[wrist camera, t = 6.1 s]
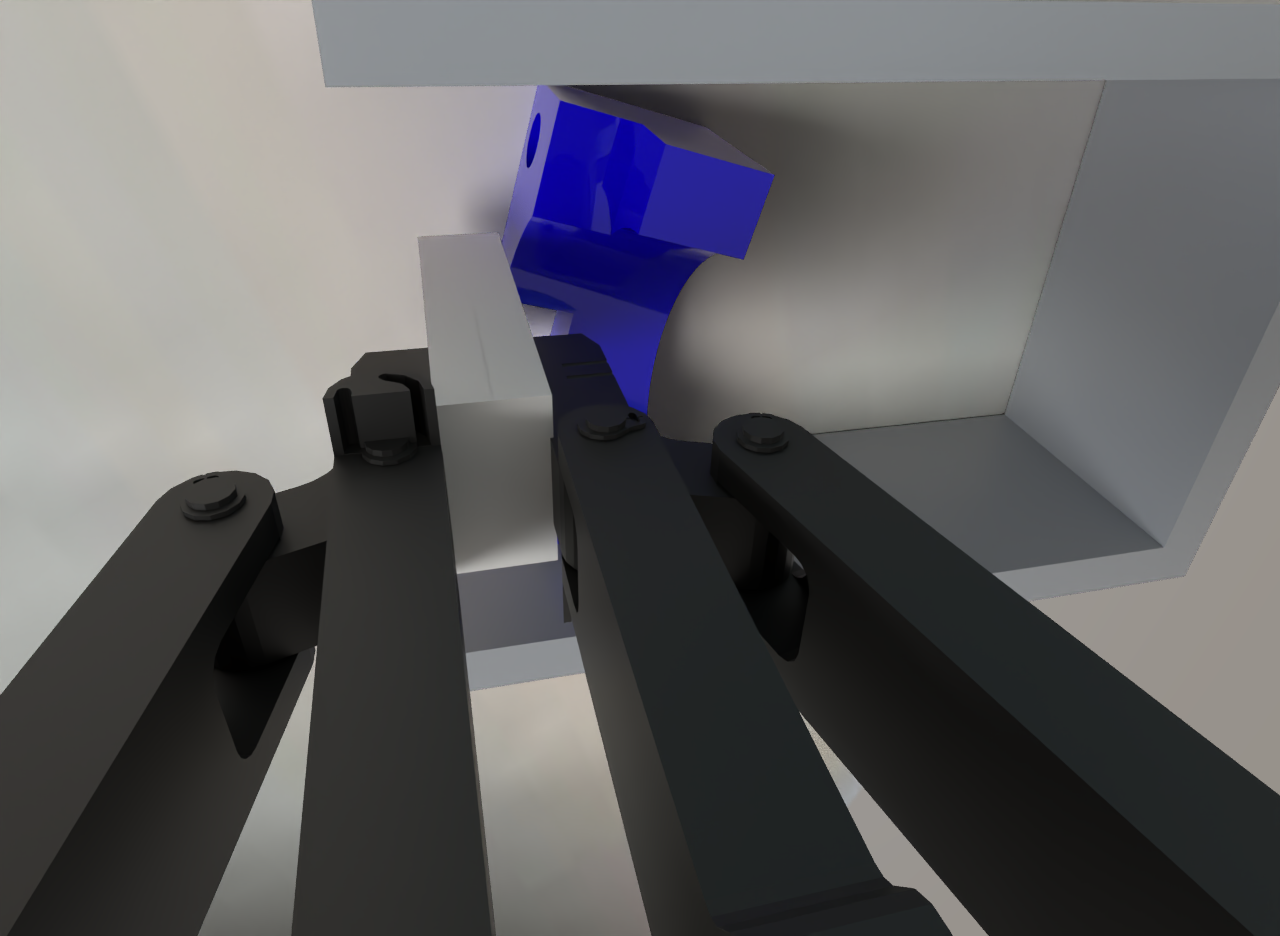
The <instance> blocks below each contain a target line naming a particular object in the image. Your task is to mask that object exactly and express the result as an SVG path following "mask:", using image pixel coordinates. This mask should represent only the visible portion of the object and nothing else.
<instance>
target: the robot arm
mask: <svg viewBox="0 0 1280 936" xmlns="http://www.w3.org/2000/svg"><path fill="white" fill-rule="evenodd" d="M418 243H419V254H420V265H421V276H422V287H423V298H424V309H425V320H426V331H427V342H428V348H419V349H407V350H394V351H382V352H369V353H365V354H364V355H363V356H362V358H361V359H360V360H359V361H358V362H357V363H356V364H355V365H354V366H353V367H352V368H351V376H350V377H347V378H344V379H341V380H340V381H338V382H337V383H335V384H334V385H333V386H331V387H330V388H328V390H327V392H326V393H325V395H324V397H323V403H324V408H325V413H326V417H327V422H328V427H329V432H330V437H331V442H332V447H333V452H334V466H333V469H332V470H331V471H329V472H328V473H327V474H325V475H323V476H322V477H320V478H318V479H316V480H314V481H312V482H309V483H307V484H304V485H301V486H298V487H295V488H292V489H289V490H285V491H282V492H278V493H275V492H274V489H273V487H272V486H271V484H270V482H269V480H267V479H265V478H263V477H261V476H259V475H257V474H256V473H249V472H242V471H226V472H212V473H207V474H206V475H200V476H197V477H194V478H191V479H189V480H187V481H185V482H183V483H181V484H179V485H177V486H175V487H173V488H171V489H170V490H169V491H168V492H166V493H165V494H164V495H163V496H162V497H161V498H159V499H158V500H157V501H156V502H155V504H154V505H153V506H152V507H151V509H150V510H149V511H148V512H147V513H146V515H145V516H144V517H143V518H142V520H141V521H140V522H139V523H138V525H137V526H136V527H135V528H134V530H133V531H132V532H131V533H130V535H129V536H128V537H127V538H126V540H125V541H124V542H123V543H122V545H121V546H120V547H119V548H118V550H117V551H116V552H115V553H114V555H113V556H112V557H111V558H110V560H109V561H108V562H107V563H106V564H105V566H104V567H103V568H102V569H101V571H100V572H99V573H98V574H97V576H96V577H95V578H94V579H93V581H92V582H91V583H90V584H89V586H88V587H87V588H86V589H85V591H84V592H83V593H82V594H81V596H80V597H79V598H78V599H77V601H76V602H75V603H74V604H73V606H72V607H71V608H70V609H69V611H68V612H67V613H66V614H65V615H64V617H63V618H62V619H61V620H60V622H59V623H58V624H57V625H56V627H55V628H54V629H53V630H52V632H51V633H50V634H49V635H48V637H47V638H46V639H45V640H44V642H43V643H42V644H41V645H40V647H39V648H38V649H37V650H36V652H35V653H34V654H33V655H32V657H31V658H30V659H29V660H28V661H27V663H26V664H25V665H24V666H23V668H22V669H21V670H20V671H19V673H18V674H17V675H16V676H15V678H14V679H13V680H12V681H11V683H10V684H9V685H8V686H7V688H6V689H5V690H4V691H3V693H2V694H1V695H0V936H197V935H198V933H199V931H200V928H201V926H202V924H203V921H204V919H205V917H206V914H207V912H208V909H209V907H210V905H211V902H212V900H213V898H214V895H215V893H216V891H217V888H218V886H219V884H220V881H221V879H222V877H223V874H224V872H225V869H226V867H227V865H228V862H229V860H230V858H231V855H232V853H233V851H234V848H235V846H236V844H237V841H238V839H239V837H240V834H241V832H242V830H243V827H244V825H245V822H246V820H247V818H248V815H249V813H250V811H251V808H252V806H253V804H254V801H255V799H256V797H257V794H258V792H259V790H260V787H261V785H262V783H263V780H264V778H265V775H266V773H267V771H268V768H269V766H270V764H271V761H272V759H273V757H274V754H275V752H276V750H277V747H278V745H279V743H280V740H281V738H282V735H283V733H284V731H285V728H286V726H287V724H288V721H289V719H290V717H291V714H292V712H293V710H294V707H295V705H296V703H297V700H298V698H299V696H300V693H301V691H302V688H303V686H304V684H305V681H306V679H307V677H308V674H309V672H310V670H311V667H312V665H313V661H314V655H315V647H314V646H317V656H316V667H315V678H314V689H313V700H312V711H311V722H310V734H309V745H308V756H307V767H306V778H305V789H304V800H303V812H302V823H301V834H300V845H299V856H298V867H297V878H296V889H295V901H294V912H293V923H292V934H291V936H496V932H495V922H494V913H493V904H492V894H491V885H490V876H489V866H488V857H487V848H486V838H485V829H484V820H483V810H482V801H481V792H480V783H479V773H478V764H477V755H476V745H475V736H474V727H473V717H472V708H471V699H470V689H469V680H468V671H467V661H466V652H465V643H464V633H463V624H462V615H461V605H460V596H459V588H458V580H457V574H460V573H467V572H474V571H482V570H489V569H497V568H504V567H511V566H519V565H526V564H533V563H541V562H548V561H555V560H558V548H557V538H558V542H559V546H560V550H561V553H562V583H563V614H564V623H567V622H573V626H574V630H575V634H576V638H577V642H578V646H579V650H580V654H581V658H582V662H583V666H584V670H585V674H586V678H587V682H588V686H589V690H590V694H591V698H592V702H593V705H594V709H595V713H596V717H597V721H598V725H599V729H600V733H601V737H602V741H603V745H604V749H605V753H606V757H607V761H608V765H609V769H610V773H611V777H612V781H613V785H614V789H615V793H616V797H617V801H618V804H619V808H620V812H621V816H622V820H623V824H624V828H625V832H626V836H627V840H628V844H629V848H630V852H631V856H632V860H633V864H634V868H635V872H636V876H637V880H638V884H639V888H640V892H641V896H642V899H643V903H644V907H645V911H646V915H647V919H648V923H649V927H650V931H651V935H652V936H952V934H951V932H950V930H949V929H948V927H947V926H946V924H945V923H944V922H943V920H942V918H941V917H940V915H939V914H938V912H937V911H936V909H935V908H934V906H933V905H932V904H931V903H930V902H929V901H928V900H927V899H926V898H925V897H924V896H922V895H921V894H920V893H919V892H918V891H917V890H916V889H913V888H907V887H899V886H893V885H892V884H891V883H890V882H889V881H887V880H886V879H885V878H884V877H883V875H882V874H881V872H880V870H879V869H878V867H877V865H876V864H875V863H874V860H873V858H872V856H871V854H870V852H869V850H868V848H867V846H866V844H865V842H864V840H863V838H862V836H861V834H860V832H859V830H858V828H857V826H856V824H855V822H854V820H853V818H852V817H851V814H850V812H849V810H848V808H847V806H846V804H845V803H844V801H843V799H842V797H841V795H840V793H839V791H838V789H837V787H836V785H835V783H834V781H833V779H832V777H831V775H830V773H829V771H828V769H827V767H826V765H825V763H824V761H823V759H822V757H821V755H820V753H819V751H818V749H817V747H816V745H815V743H814V741H813V739H812V737H811V735H810V733H809V731H808V729H807V727H806V725H805V723H804V721H803V719H802V717H801V715H800V713H801V714H802V715H803V717H804V718H805V719H806V720H807V721H808V722H809V724H810V725H811V726H812V727H813V728H814V730H815V731H816V732H817V733H818V734H819V735H820V737H821V738H822V739H823V740H824V741H825V743H826V744H827V745H828V746H829V747H830V748H831V750H832V751H833V752H834V753H835V754H836V756H837V757H838V758H839V759H840V760H841V761H842V763H843V764H844V765H845V766H846V767H847V769H848V770H849V771H850V772H851V773H852V775H853V776H854V777H855V778H856V779H857V780H858V782H859V783H860V784H861V785H862V786H863V788H864V789H865V790H866V791H867V792H868V793H869V795H870V796H871V797H872V798H873V799H874V801H875V802H876V803H877V804H878V805H879V806H880V808H881V809H882V810H883V811H884V812H885V814H886V815H887V816H888V817H889V818H890V819H891V821H892V822H893V823H894V824H895V825H896V826H897V828H898V829H899V830H900V831H901V832H902V833H903V835H904V836H905V837H906V838H907V840H908V841H909V842H910V843H911V844H912V846H913V847H914V848H915V849H916V850H917V851H918V852H919V854H920V855H921V856H922V857H923V858H924V860H925V861H926V862H927V863H928V864H929V866H930V867H931V868H932V869H933V870H934V871H935V873H936V874H937V875H938V876H939V877H940V879H941V880H942V881H943V882H944V883H945V885H946V886H947V887H948V888H949V889H950V890H951V892H952V893H953V894H954V895H955V896H956V897H957V899H958V900H959V901H960V902H961V903H962V905H963V906H964V907H965V908H966V909H967V910H968V912H969V913H970V914H971V915H972V916H973V918H974V919H975V920H976V921H977V922H978V924H979V925H980V926H981V927H982V928H983V930H984V931H985V932H986V933H987V934H988V935H989V936H1280V795H1279V794H1277V793H1276V792H1275V791H1273V790H1272V789H1271V788H1269V787H1268V786H1267V785H1266V784H1264V783H1263V782H1262V781H1260V780H1259V779H1258V778H1256V777H1255V776H1254V775H1253V774H1251V773H1250V772H1249V771H1247V770H1246V769H1245V768H1243V767H1242V766H1241V765H1239V764H1238V763H1237V762H1236V761H1234V760H1233V759H1232V758H1231V757H1229V756H1228V755H1227V754H1225V753H1224V752H1223V751H1221V750H1220V749H1219V748H1218V747H1216V746H1215V745H1214V744H1212V743H1211V742H1210V741H1208V740H1207V739H1206V738H1204V737H1203V736H1202V735H1201V734H1199V733H1198V732H1197V731H1195V730H1194V729H1193V728H1192V727H1190V726H1189V725H1188V724H1186V723H1185V722H1184V721H1182V720H1181V719H1180V718H1179V717H1177V716H1176V715H1175V714H1173V713H1172V712H1171V711H1169V710H1168V709H1167V708H1166V707H1164V706H1163V705H1162V704H1160V703H1159V702H1158V701H1157V700H1155V699H1154V698H1153V697H1151V696H1150V695H1149V694H1147V693H1146V692H1145V691H1144V690H1142V689H1141V688H1140V687H1138V686H1137V685H1136V684H1135V683H1133V682H1132V681H1131V680H1129V679H1128V678H1127V677H1125V676H1124V675H1123V674H1122V673H1120V672H1119V671H1118V670H1116V669H1115V668H1114V667H1113V666H1111V665H1110V664H1109V663H1107V662H1106V661H1105V660H1103V659H1102V658H1101V657H1099V656H1098V655H1097V654H1096V653H1094V652H1093V651H1091V650H1090V649H1089V648H1088V647H1087V646H1085V645H1084V644H1083V643H1081V642H1080V641H1079V640H1077V639H1076V638H1075V637H1074V636H1072V635H1071V634H1070V633H1068V632H1067V631H1066V630H1064V629H1063V628H1062V627H1061V626H1059V625H1058V624H1057V623H1055V622H1054V621H1053V620H1051V619H1050V618H1049V617H1047V616H1046V615H1045V614H1044V613H1042V612H1041V611H1040V610H1039V609H1037V608H1036V607H1035V606H1033V605H1032V604H1031V603H1030V602H1028V601H1027V600H1026V599H1024V598H1023V597H1022V596H1020V595H1019V594H1018V593H1017V592H1015V591H1014V590H1013V589H1011V588H1010V587H1009V586H1007V585H1006V584H1005V583H1004V582H1002V581H1001V580H1000V579H998V578H997V577H996V576H995V575H993V574H992V573H991V572H989V571H988V570H987V569H985V568H984V567H983V566H982V565H980V564H979V563H978V562H976V561H975V560H974V559H972V558H971V557H970V556H969V555H967V554H966V553H965V552H963V551H962V550H961V549H959V548H958V547H957V546H956V545H954V544H953V543H952V542H950V541H949V540H948V539H947V538H945V537H944V536H943V535H941V534H940V533H939V532H937V531H936V530H935V529H934V528H932V527H931V526H930V525H928V524H927V523H926V522H924V521H923V520H922V519H921V518H919V517H918V516H917V515H915V514H914V513H913V512H912V511H910V510H909V509H908V508H906V507H905V506H904V505H902V504H901V503H900V502H899V501H897V500H896V499H895V498H893V497H892V496H891V495H889V494H888V493H887V492H886V491H884V490H883V489H882V488H880V487H879V486H878V485H876V484H875V483H874V482H873V481H871V480H870V479H869V478H867V477H866V476H865V475H864V474H862V473H861V472H860V471H858V470H857V469H856V468H854V467H853V466H852V465H851V464H849V463H848V462H847V461H845V460H844V459H843V458H841V457H840V456H839V455H838V454H836V453H835V452H834V451H832V450H831V449H830V448H829V447H827V446H826V445H825V444H823V443H822V442H821V441H819V440H818V439H817V438H816V437H814V436H813V435H812V434H810V433H809V432H808V431H806V430H805V429H804V428H803V427H801V426H799V425H797V424H795V423H794V422H792V421H790V420H788V419H784V418H781V417H777V416H774V415H772V414H765V413H762V414H760V413H749V414H744V415H736V416H733V417H731V418H728V419H726V420H723V421H721V422H720V423H719V424H718V426H717V427H716V428H715V429H714V433H713V444H711V443H698V442H686V441H679V440H672V439H668V438H665V437H661V436H660V435H659V433H658V431H657V429H656V427H655V425H654V423H653V421H652V420H651V419H650V418H649V417H648V416H647V415H646V414H645V413H643V412H641V411H639V410H637V409H634V408H632V407H629V406H628V404H627V401H626V399H625V397H624V395H623V393H622V391H621V389H620V387H619V385H618V383H617V380H616V378H615V376H614V375H613V373H612V370H611V368H610V366H609V364H608V363H607V359H606V357H605V355H604V353H603V351H602V349H601V347H600V345H599V344H597V343H596V342H594V341H592V340H591V339H589V338H588V337H586V336H585V335H583V334H582V333H579V334H567V335H554V336H541V337H533V336H532V333H531V330H530V327H529V324H528V321H527V318H526V315H525V312H524V309H523V306H522V303H521V300H520V297H519V294H518V291H517V288H516V285H515V282H514V279H513V276H512V273H511V270H510V267H509V264H508V261H507V258H506V255H505V252H504V249H503V246H502V243H501V240H500V237H499V234H498V233H480V234H461V235H441V236H422V237H418ZM794 556H795V557H796V558H797V559H798V561H799V562H800V563H801V565H802V567H803V569H802V568H801V567H800V566H799V565H798V564H797V563H796V562H795V561H794ZM799 712H800V713H799Z"/></svg>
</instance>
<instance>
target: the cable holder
mask: <svg viewBox="0 0 1280 936" xmlns="http://www.w3.org/2000/svg"><path fill="white" fill-rule="evenodd" d="M774 176H775V175H774V174H773V173H771V172H770V171H768V170H767V169H766V168H764V167H763V166H761V165H760V164H758V163H757V162H755V161H754V160H753V159H751V158H750V157H748V156H747V155H745V154H744V153H743V152H741V151H740V150H738V149H737V148H735V147H734V146H732V145H731V144H730V143H728V142H727V141H725V140H724V139H722V138H721V137H719V136H718V135H717V134H715V133H714V132H712V131H711V130H709V129H708V128H707V127H705V126H701V125H698V124H695V123H691V122H688V121H684V120H681V119H678V118H674V117H671V116H668V115H664V114H661V113H658V112H654V111H651V110H648V109H644V108H641V107H638V106H634V105H631V104H627V103H624V102H621V101H617V100H614V99H611V98H607V97H604V96H601V95H597V94H594V93H591V92H587V91H584V90H581V89H577V88H574V87H570V86H567V85H538V86H537V91H536V95H535V99H534V104H533V108H532V113H531V117H530V121H529V126H528V130H527V135H526V139H525V143H524V148H523V152H522V157H521V161H520V165H519V170H518V174H517V179H516V183H515V187H514V192H513V196H512V201H511V205H510V209H509V214H508V218H507V223H506V227H505V232H504V236H503V240H502V246H503V249H504V252H505V255H506V258H507V261H508V264H509V267H510V270H511V273H512V276H513V279H514V282H515V285H516V288H517V291H518V294H519V297H520V300H521V303H522V304H527V305H532V306H537V307H542V308H547V309H552V310H557V312H556V316H555V319H554V323H553V327H552V331H551V334H550V336H554V335H567V334H579V333H582V334H583V335H585V336H586V337H588V338H589V339H591V340H592V341H594V342H596V343H597V344H599V345H600V347H601V349H602V351H603V353H604V355H605V357H606V359H607V363H608V364H609V366H610V368H611V370H612V373H613V375H614V376H615V378H616V380H617V383H618V385H619V387H620V389H621V391H622V393H623V395H624V397H625V399H626V401H627V404H628V406H629V407H632V408H634V409H637V410H639V411H641V412H643V413H645V414H646V415H647V408H648V397H649V389H650V382H651V376H652V371H653V366H654V361H655V357H656V353H657V349H658V346H659V342H660V339H661V335H662V332H663V329H664V326H665V324H666V321H667V319H668V316H669V314H670V311H671V309H672V307H673V304H674V302H675V300H676V298H677V296H678V295H679V293H680V291H681V289H682V288H683V286H684V284H685V283H686V281H687V280H688V278H689V277H690V276H691V274H692V273H693V272H694V271H695V269H696V268H697V267H698V266H699V265H700V264H701V263H702V262H704V261H705V260H706V259H707V258H709V257H711V256H713V255H715V254H717V253H718V254H722V255H726V256H730V257H734V258H738V259H743V260H744V257H745V255H746V252H747V249H748V246H749V244H750V241H751V238H752V236H753V233H754V230H755V227H756V225H757V222H758V219H759V217H760V214H761V211H762V208H763V206H764V203H765V200H766V198H767V195H768V192H769V189H770V187H771V184H772V181H773V178H774ZM557 544H559V542H558V538H557Z"/></svg>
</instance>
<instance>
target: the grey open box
mask: <svg viewBox="0 0 1280 936" xmlns="http://www.w3.org/2000/svg"><path fill="white" fill-rule="evenodd" d="M312 6H313V12H314V18H315V25H316V31H317V37H318V44H319V50H320V56H321V63H322V69H323V75H324V82H325V87H412V86H524V85H635V84H746V83H857V82H969V81H1080V80H1106V83H1105V86H1104V89H1103V93H1102V96H1101V99H1100V103H1099V106H1098V109H1097V112H1096V116H1095V119H1094V122H1093V126H1092V129H1091V132H1090V135H1089V139H1088V142H1087V145H1086V148H1085V152H1084V155H1083V158H1082V162H1081V165H1080V168H1079V171H1078V175H1077V178H1076V181H1075V185H1074V188H1073V191H1072V194H1071V198H1070V201H1069V204H1068V208H1067V211H1066V214H1065V217H1064V221H1063V224H1062V227H1061V231H1060V234H1059V237H1058V240H1057V244H1056V247H1055V250H1054V254H1053V257H1052V260H1051V263H1050V267H1049V270H1048V273H1047V276H1046V280H1045V283H1044V286H1043V290H1042V293H1041V296H1040V299H1039V303H1038V306H1037V309H1036V313H1035V316H1034V319H1033V322H1032V326H1031V329H1030V332H1029V336H1028V339H1027V342H1026V345H1025V349H1024V352H1023V355H1022V359H1021V362H1020V365H1019V368H1018V372H1017V375H1016V378H1015V382H1014V385H1013V388H1012V391H1011V395H1010V398H1009V401H1008V404H1007V408H1006V411H1005V414H1003V415H994V416H984V417H975V418H965V419H956V420H946V421H937V422H927V423H918V424H909V425H899V426H890V427H880V428H871V429H861V430H852V431H842V432H833V433H823V434H814V435H813V436H814V437H816V438H817V439H818V440H819V441H821V442H822V443H823V444H825V445H826V446H827V447H829V448H830V449H831V450H832V451H834V452H835V453H836V454H838V455H839V456H840V457H841V458H843V459H844V460H845V461H847V462H848V463H849V464H851V465H852V466H853V467H854V468H856V469H857V470H858V471H860V472H861V473H862V474H864V475H865V476H866V477H867V478H869V479H870V480H871V481H873V482H874V483H875V484H876V485H878V486H879V487H880V488H882V489H883V490H884V491H886V492H887V493H888V494H889V495H891V496H892V497H893V498H895V499H896V500H897V501H899V502H900V503H901V504H902V505H904V506H905V507H906V508H908V509H909V510H910V511H912V512H913V513H914V514H915V515H917V516H918V517H919V518H921V519H922V520H923V521H924V522H926V523H927V524H928V525H930V526H931V527H932V528H934V529H935V530H936V531H937V532H939V533H940V534H941V535H943V536H944V537H945V538H947V539H948V540H949V541H950V542H952V543H953V544H954V545H956V546H957V547H958V548H959V549H961V550H962V551H963V552H965V553H966V554H967V555H969V556H970V557H971V558H972V559H974V560H975V561H976V562H978V563H979V564H980V565H982V566H983V567H984V568H985V569H987V570H988V571H989V572H991V573H992V574H993V575H995V576H996V577H997V578H998V579H1000V580H1001V581H1002V582H1004V583H1005V584H1006V585H1007V586H1009V587H1010V588H1011V589H1013V590H1014V591H1015V592H1017V593H1018V594H1019V595H1020V596H1022V597H1023V598H1024V599H1026V600H1027V601H1034V600H1040V599H1046V598H1053V597H1058V596H1065V595H1071V594H1078V593H1084V592H1090V591H1096V590H1103V589H1108V588H1114V587H1121V586H1127V585H1133V584H1140V583H1146V582H1152V581H1158V580H1164V579H1171V578H1176V577H1183V576H1185V575H1186V573H1187V570H1188V568H1189V567H1190V565H1191V563H1192V561H1193V558H1194V557H1195V555H1196V552H1197V550H1198V548H1199V546H1200V544H1201V542H1202V540H1203V538H1204V536H1205V534H1206V532H1207V530H1208V528H1209V526H1210V524H1211V522H1212V520H1213V518H1214V516H1215V514H1216V512H1217V510H1218V508H1219V506H1220V504H1221V502H1222V500H1223V498H1224V496H1225V494H1226V492H1227V490H1228V488H1229V486H1230V484H1231V482H1232V480H1233V478H1234V476H1235V474H1236V472H1237V470H1238V468H1239V466H1240V464H1241V462H1242V460H1243V458H1244V456H1245V454H1246V452H1247V450H1248V448H1249V446H1250V444H1251V442H1252V440H1253V438H1254V436H1255V434H1256V432H1257V430H1258V428H1259V426H1260V424H1261V422H1262V420H1263V418H1264V416H1265V414H1266V412H1267V410H1268V408H1269V406H1270V404H1271V402H1272V399H1273V398H1274V396H1275V394H1276V392H1277V390H1278V388H1279V385H1280V0H312ZM557 548H558V560H555V561H548V562H541V563H533V564H526V565H519V566H511V567H504V568H497V569H489V570H482V571H474V572H467V573H460V574H457V580H458V588H459V596H460V605H461V615H462V624H463V633H464V643H465V652H466V661H467V671H468V680H469V689H470V691H475V690H481V689H487V688H493V687H499V686H506V685H512V684H518V683H524V682H531V681H537V680H543V679H549V678H555V677H562V676H568V675H574V674H580V673H585V670H584V666H583V662H582V658H581V654H580V650H579V646H578V642H577V638H576V634H575V630H574V626H573V622H567V623H564V614H563V583H562V553H561V550H560V546H559V544H557ZM794 561H795V562H796V563H797V564H798V565H799V566H800V567H801V568H802V569H803V567H802V565H801V563H800V562H799V561H798V559H797V558H796V557H795V556H794Z"/></svg>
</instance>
